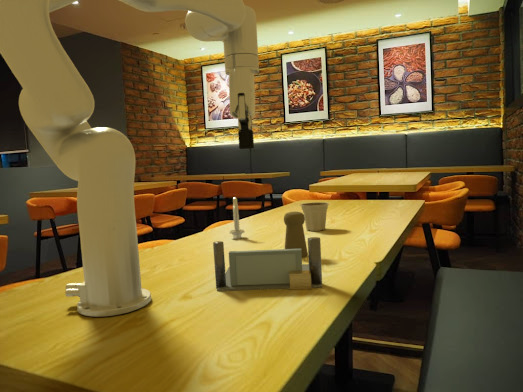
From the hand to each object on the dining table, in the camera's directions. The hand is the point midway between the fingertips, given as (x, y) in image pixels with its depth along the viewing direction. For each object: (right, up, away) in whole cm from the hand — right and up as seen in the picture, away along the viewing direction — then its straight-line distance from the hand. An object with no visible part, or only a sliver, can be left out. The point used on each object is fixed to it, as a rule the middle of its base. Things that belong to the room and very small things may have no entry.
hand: (246, 148), depth 96 cm
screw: (-4, -24, +37) cm, 44 cm away
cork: (+12, -26, +10) cm, 30 cm away
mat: (+5, -28, -8) cm, 29 cm away
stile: (+12, -28, -15) cm, 34 cm away
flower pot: (+21, -22, +44) cm, 54 cm away
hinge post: (-5, -29, -13) cm, 32 cm away
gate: (+4, -28, -14) cm, 31 cm away
